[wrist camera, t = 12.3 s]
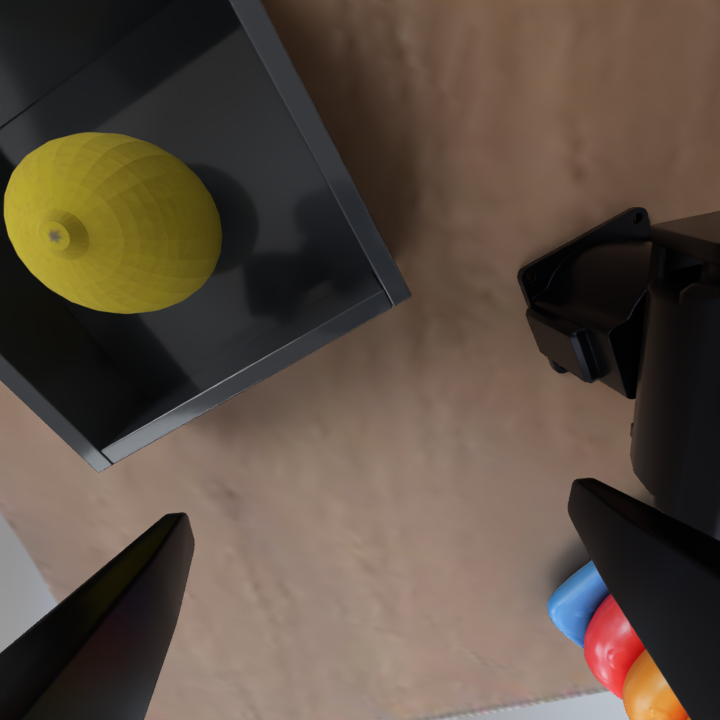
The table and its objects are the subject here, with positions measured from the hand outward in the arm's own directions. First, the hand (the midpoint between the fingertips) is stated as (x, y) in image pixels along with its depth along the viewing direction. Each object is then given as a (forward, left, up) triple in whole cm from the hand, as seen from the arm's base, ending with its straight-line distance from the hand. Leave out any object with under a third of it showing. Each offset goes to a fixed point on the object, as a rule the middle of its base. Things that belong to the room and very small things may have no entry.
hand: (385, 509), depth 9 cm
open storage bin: (+4, -9, -12) cm, 15 cm away
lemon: (+4, -9, -11) cm, 15 cm away
